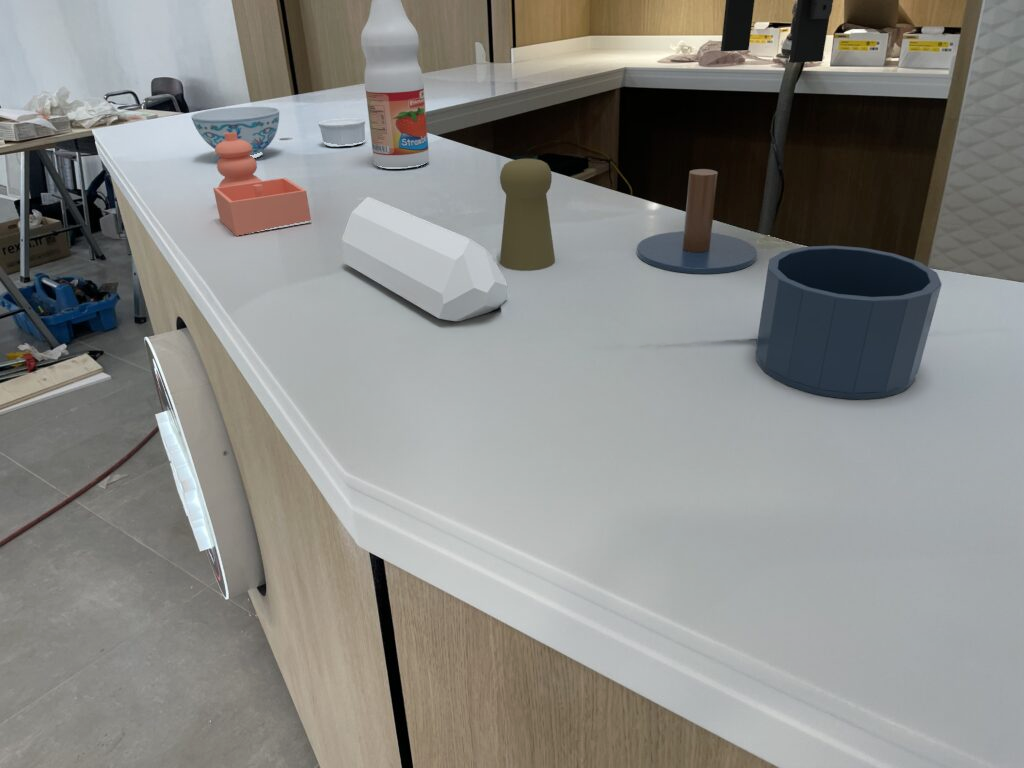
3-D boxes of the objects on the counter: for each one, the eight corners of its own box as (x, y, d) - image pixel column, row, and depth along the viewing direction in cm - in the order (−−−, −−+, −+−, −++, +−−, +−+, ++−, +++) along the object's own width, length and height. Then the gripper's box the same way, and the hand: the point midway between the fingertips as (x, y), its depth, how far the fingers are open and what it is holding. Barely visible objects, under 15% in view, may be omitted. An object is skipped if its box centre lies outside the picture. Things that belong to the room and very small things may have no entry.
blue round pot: (869, 329, 62) (889, 242, 58) (946, 395, 52) (976, 296, 48) (736, 335, 61) (747, 248, 58) (787, 403, 51) (804, 303, 48)
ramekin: (317, 143, 145) (313, 120, 143) (361, 138, 148) (358, 116, 146) (327, 150, 138) (323, 126, 136) (372, 145, 141) (370, 122, 139)
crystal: (537, 266, 66) (406, 212, 83) (478, 242, 61) (352, 190, 78) (506, 342, 67) (383, 274, 84) (445, 324, 62) (329, 255, 79)
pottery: (311, 223, 94) (298, 144, 90) (236, 236, 90) (219, 154, 86) (272, 195, 108) (259, 126, 103) (206, 205, 104) (189, 133, 99)
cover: (734, 239, 84) (744, 157, 79) (773, 276, 73) (787, 184, 69) (626, 243, 84) (630, 161, 79) (649, 282, 73) (656, 189, 68)
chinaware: (220, 169, 125) (210, 122, 121) (188, 157, 135) (178, 113, 131) (300, 156, 134) (293, 111, 130) (264, 145, 144) (257, 104, 140)
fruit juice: (389, 158, 130) (370, -22, 117) (438, 160, 127) (424, -24, 114) (364, 169, 122) (341, -22, 109) (416, 171, 119) (398, -25, 106)
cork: (517, 253, 81) (515, 152, 76) (565, 261, 79) (566, 157, 73) (488, 270, 77) (483, 163, 72) (538, 279, 74) (537, 169, 69)
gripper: (697, -198, 69) (678, 48, 79) (853, -283, 48) (800, 69, 58) (771, -197, 70) (743, 45, 80) (956, -280, 49) (885, 65, 59)
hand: (766, 56), depth 69 cm, fingers open, 13 cm apart
